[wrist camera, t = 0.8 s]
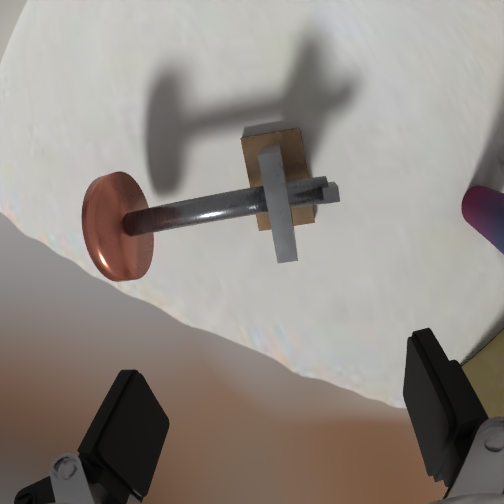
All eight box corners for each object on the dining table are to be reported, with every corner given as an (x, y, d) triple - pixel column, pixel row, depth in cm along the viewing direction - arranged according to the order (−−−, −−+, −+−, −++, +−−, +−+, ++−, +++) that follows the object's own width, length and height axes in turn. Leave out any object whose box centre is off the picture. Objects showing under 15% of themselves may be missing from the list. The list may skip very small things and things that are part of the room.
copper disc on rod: (113, 170, 31) (57, 193, 22) (318, 126, 28) (336, 129, 19) (138, 256, 35) (97, 303, 26) (332, 226, 32) (352, 270, 23)
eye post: (241, 137, 32) (221, 147, 21) (299, 128, 31) (310, 131, 20) (259, 228, 36) (250, 279, 25) (313, 219, 35) (329, 268, 24)
